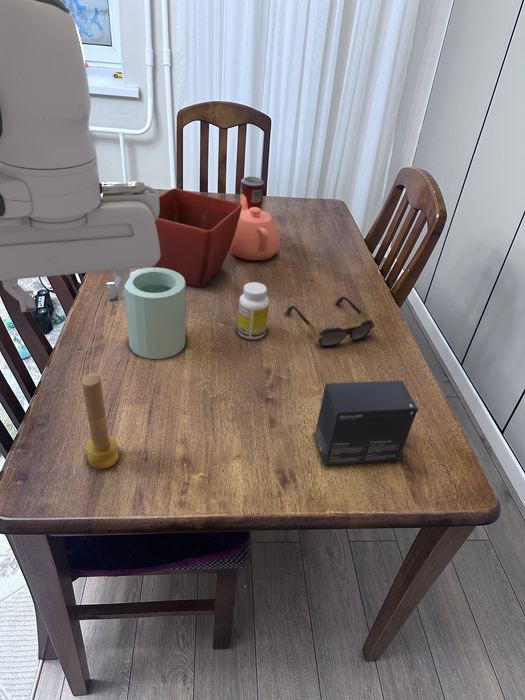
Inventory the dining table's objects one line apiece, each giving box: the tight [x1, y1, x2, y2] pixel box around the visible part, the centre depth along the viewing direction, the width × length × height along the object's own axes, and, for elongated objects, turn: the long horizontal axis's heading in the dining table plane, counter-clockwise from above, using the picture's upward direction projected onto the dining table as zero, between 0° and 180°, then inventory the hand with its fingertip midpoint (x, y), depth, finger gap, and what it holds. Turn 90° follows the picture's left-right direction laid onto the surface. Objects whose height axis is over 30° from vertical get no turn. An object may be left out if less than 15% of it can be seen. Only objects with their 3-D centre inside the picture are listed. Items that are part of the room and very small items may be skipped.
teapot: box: [229, 194, 281, 261], centre depth 132 cm, size 22×15×12 cm
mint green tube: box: [123, 267, 187, 360], centre depth 95 cm, size 11×11×14 cm
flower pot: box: [151, 187, 242, 288], centre depth 118 cm, size 19×19×17 cm
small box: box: [314, 380, 419, 467], centre depth 78 cm, size 13×7×12 cm, turn 99°
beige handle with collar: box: [81, 373, 119, 470], centre depth 70 cm, size 4×4×16 cm
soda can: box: [239, 176, 265, 211], centre depth 150 cm, size 7×7×12 cm
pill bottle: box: [237, 281, 270, 340], centre depth 101 cm, size 6×6×11 cm
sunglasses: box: [286, 296, 376, 348], centre depth 108 cm, size 14×15×5 cm
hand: (73, 303), depth 56 cm, fingers open, 8 cm apart
